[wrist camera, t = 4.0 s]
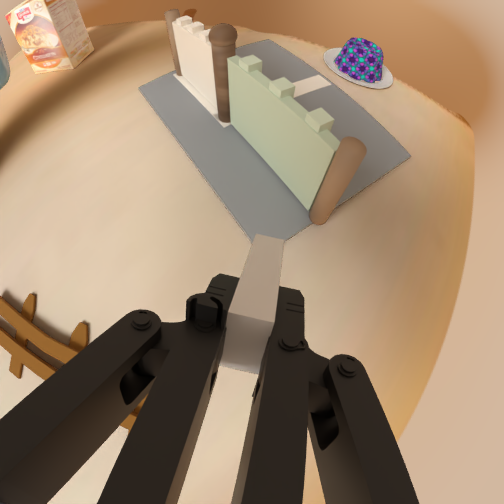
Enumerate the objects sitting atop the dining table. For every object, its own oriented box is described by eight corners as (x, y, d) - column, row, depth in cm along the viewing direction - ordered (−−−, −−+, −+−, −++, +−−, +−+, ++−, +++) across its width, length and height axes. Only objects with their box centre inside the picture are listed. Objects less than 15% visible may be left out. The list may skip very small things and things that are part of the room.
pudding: (402, 96, 34) (414, 73, 29) (334, 87, 34) (343, 60, 29) (375, 56, 38) (383, 35, 33) (314, 47, 38) (319, 24, 33)
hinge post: (212, 117, 31) (202, 24, 18) (231, 109, 31) (227, 17, 19) (224, 130, 30) (216, 32, 18) (243, 121, 31) (242, 25, 18)
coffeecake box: (35, 75, 37) (3, 16, 19) (54, 55, 40) (28, -3, 21) (73, 70, 36) (40, -5, 18) (95, 49, 38) (70, -23, 20)
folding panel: (227, 125, 29) (222, 49, 19) (241, 118, 30) (241, 43, 20) (316, 228, 26) (354, 162, 16) (331, 218, 26) (372, 151, 16)
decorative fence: (160, 458, 20) (186, 366, 23) (154, 465, 18) (181, 368, 21) (-8, 350, 22) (9, 278, 25) (-18, 349, 20) (-1, 274, 23)
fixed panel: (175, 75, 34) (162, 12, 23) (186, 70, 34) (176, 7, 23) (215, 115, 31) (206, 38, 20) (228, 109, 31) (224, 33, 21)
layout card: (138, 89, 33) (137, 87, 32) (268, 40, 37) (268, 38, 37) (261, 256, 25) (262, 255, 25) (409, 157, 30) (411, 155, 29)
